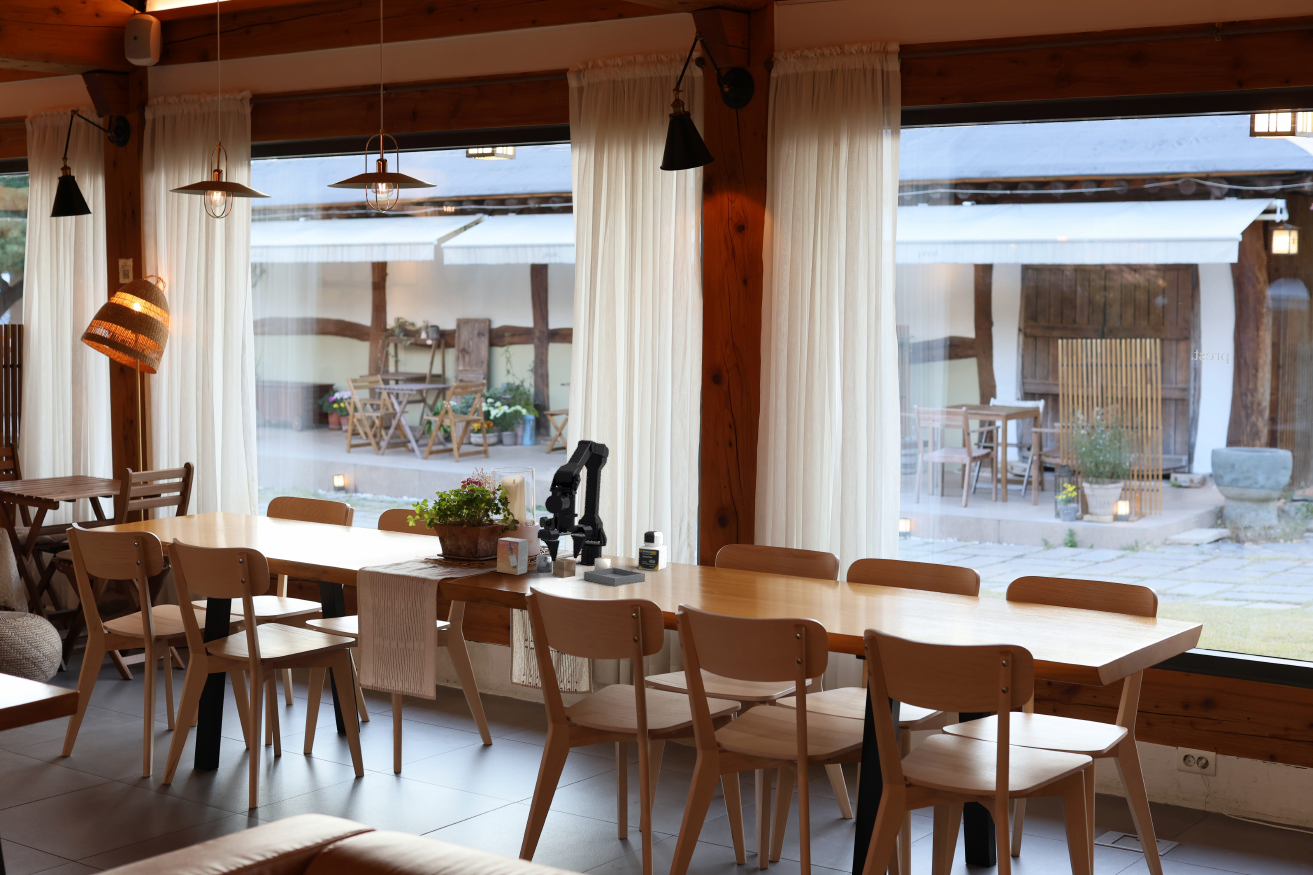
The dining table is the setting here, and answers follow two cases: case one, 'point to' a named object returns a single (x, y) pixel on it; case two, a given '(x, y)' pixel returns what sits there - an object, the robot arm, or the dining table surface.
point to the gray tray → (614, 576)
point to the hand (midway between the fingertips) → (564, 559)
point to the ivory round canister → (602, 563)
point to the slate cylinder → (544, 564)
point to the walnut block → (564, 568)
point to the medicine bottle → (653, 552)
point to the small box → (512, 555)
